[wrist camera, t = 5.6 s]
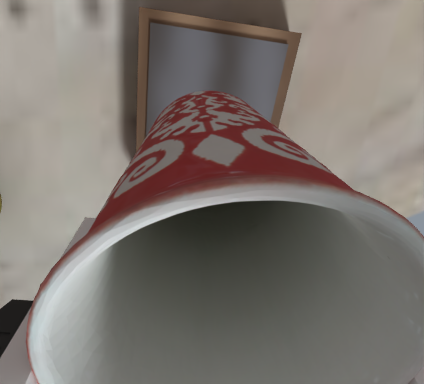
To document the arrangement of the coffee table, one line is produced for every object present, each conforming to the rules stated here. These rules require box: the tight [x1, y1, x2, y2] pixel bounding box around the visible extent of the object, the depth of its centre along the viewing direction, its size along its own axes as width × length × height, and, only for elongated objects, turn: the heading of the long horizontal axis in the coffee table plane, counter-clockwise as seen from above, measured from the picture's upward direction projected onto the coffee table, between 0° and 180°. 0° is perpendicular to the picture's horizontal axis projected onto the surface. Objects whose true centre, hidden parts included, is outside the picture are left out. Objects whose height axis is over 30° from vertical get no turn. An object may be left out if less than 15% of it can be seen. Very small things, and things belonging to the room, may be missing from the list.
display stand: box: [136, 7, 302, 152], centre depth 31 cm, size 14×18×4 cm
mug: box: [26, 91, 424, 384], centre depth 13 cm, size 13×9×14 cm
